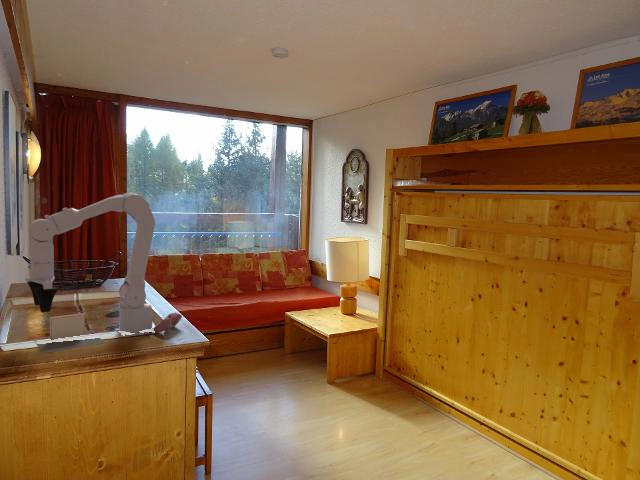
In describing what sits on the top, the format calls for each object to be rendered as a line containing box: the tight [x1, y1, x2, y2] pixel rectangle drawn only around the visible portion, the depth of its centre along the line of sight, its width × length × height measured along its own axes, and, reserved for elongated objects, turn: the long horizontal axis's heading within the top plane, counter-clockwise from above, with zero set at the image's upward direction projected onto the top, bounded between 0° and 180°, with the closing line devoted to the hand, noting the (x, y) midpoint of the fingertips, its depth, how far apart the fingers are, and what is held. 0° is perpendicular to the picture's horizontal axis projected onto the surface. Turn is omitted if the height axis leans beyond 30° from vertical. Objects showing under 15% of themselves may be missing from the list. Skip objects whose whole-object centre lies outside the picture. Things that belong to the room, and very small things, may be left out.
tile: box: [49, 312, 86, 340], centre depth 136 cm, size 9×2×7 cm, turn 131°
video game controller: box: [152, 311, 183, 334], centre depth 152 cm, size 10×5×7 cm, turn 169°
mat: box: [33, 329, 106, 354], centre depth 135 cm, size 16×13×1 cm
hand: (42, 308), depth 133 cm, fingers open, 7 cm apart
